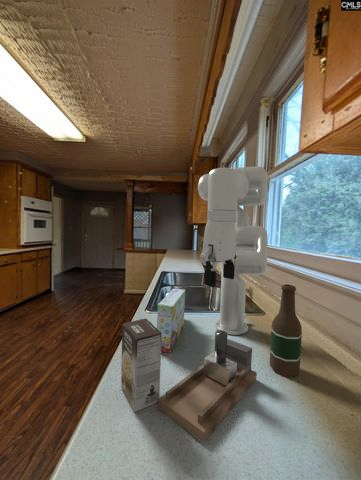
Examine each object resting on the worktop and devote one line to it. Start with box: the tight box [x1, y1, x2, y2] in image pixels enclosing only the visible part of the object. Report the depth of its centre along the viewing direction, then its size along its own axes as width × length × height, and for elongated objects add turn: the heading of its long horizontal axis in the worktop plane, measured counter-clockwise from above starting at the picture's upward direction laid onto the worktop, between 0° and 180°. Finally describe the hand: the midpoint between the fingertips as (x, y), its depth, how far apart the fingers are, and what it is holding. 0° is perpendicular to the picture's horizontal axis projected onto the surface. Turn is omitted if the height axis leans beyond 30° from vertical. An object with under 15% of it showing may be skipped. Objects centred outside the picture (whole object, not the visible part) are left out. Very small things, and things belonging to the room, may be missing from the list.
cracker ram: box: [203, 329, 237, 386], centre depth 57 cm, size 4×7×11 cm, turn 49°
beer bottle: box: [269, 283, 303, 378], centre depth 65 cm, size 8×8×24 cm
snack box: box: [156, 288, 186, 353], centre depth 82 cm, size 21×6×15 cm, turn 168°
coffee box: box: [120, 318, 162, 413], centre depth 53 cm, size 9×6×16 cm
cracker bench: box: [157, 338, 257, 443], centre depth 55 cm, size 24×12×8 cm, turn 139°
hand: (219, 281), depth 62 cm, fingers open, 9 cm apart
